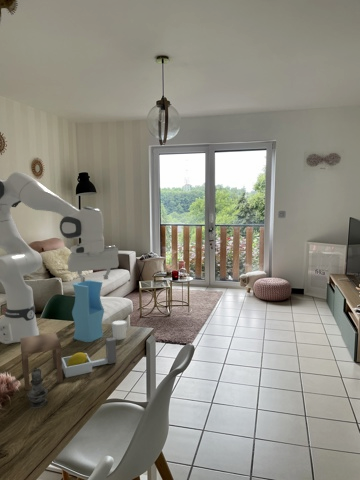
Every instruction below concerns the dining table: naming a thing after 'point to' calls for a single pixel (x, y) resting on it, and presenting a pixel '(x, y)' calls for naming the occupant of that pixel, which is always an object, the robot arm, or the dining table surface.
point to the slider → (89, 364)
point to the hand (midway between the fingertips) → (94, 280)
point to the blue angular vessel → (88, 311)
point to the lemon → (77, 359)
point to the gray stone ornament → (37, 390)
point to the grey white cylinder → (119, 329)
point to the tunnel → (41, 345)
